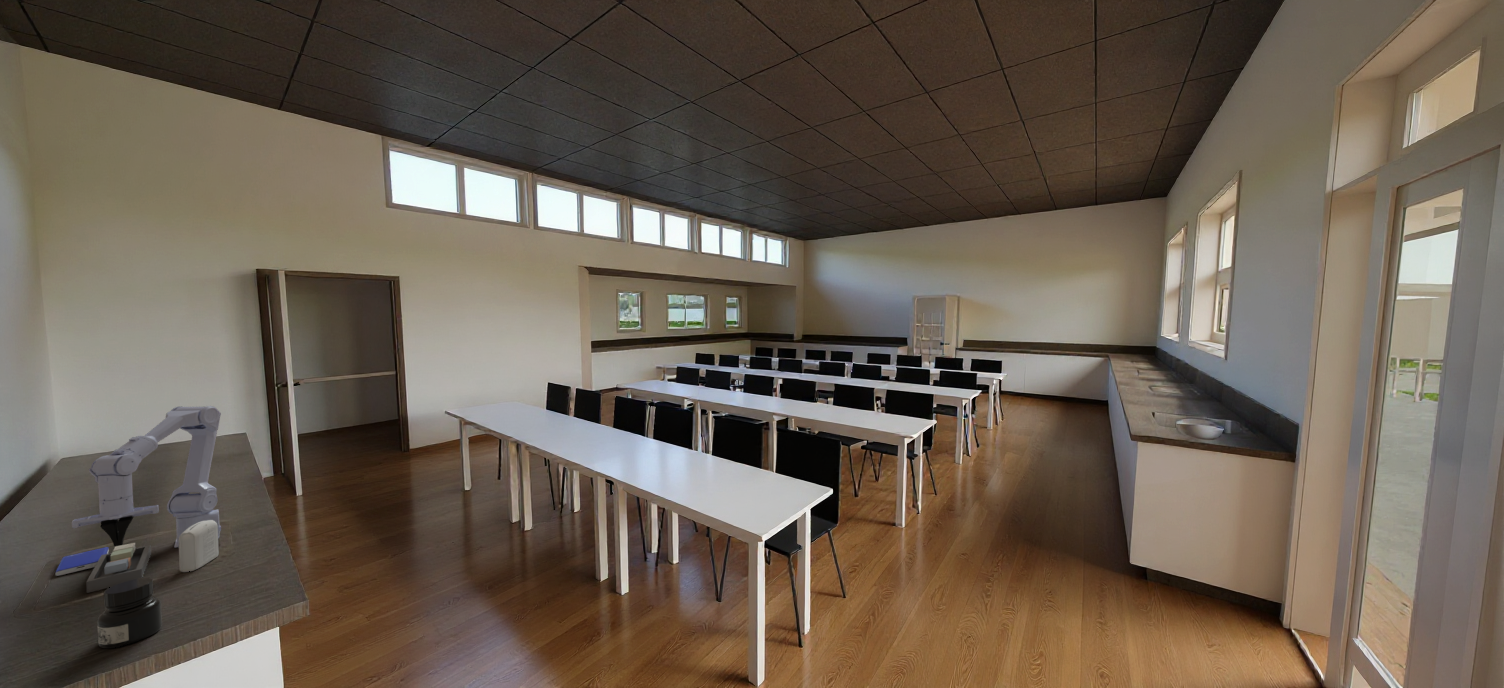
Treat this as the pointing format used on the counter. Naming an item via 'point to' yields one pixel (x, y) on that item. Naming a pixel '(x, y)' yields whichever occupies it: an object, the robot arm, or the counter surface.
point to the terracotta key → (128, 562)
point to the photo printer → (198, 545)
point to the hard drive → (80, 561)
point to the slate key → (116, 566)
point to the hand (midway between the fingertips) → (118, 544)
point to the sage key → (121, 554)
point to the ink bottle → (129, 613)
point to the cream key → (125, 547)
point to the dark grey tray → (134, 572)
